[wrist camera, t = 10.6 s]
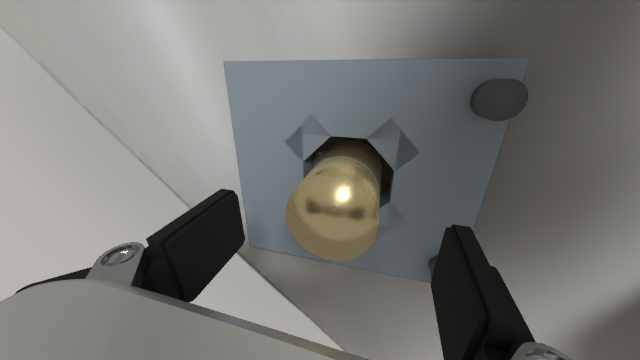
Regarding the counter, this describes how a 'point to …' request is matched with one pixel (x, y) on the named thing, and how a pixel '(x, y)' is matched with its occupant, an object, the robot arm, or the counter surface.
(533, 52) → the counter surface
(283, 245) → the plate
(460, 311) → the robot arm
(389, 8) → the counter surface
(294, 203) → the brass cylinder
